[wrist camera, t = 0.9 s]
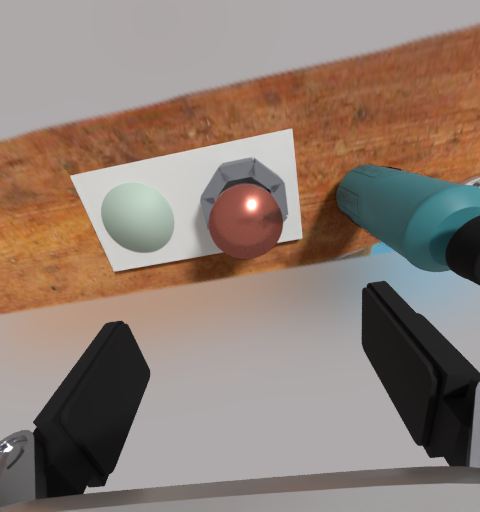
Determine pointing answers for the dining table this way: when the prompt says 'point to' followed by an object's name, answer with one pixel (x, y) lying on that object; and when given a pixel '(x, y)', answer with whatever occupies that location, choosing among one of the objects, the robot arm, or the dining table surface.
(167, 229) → the board
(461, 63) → the dining table surface
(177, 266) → the dining table surface
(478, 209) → the beverage bottle
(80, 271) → the dining table surface
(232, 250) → the copper domed post
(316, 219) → the dining table surface
